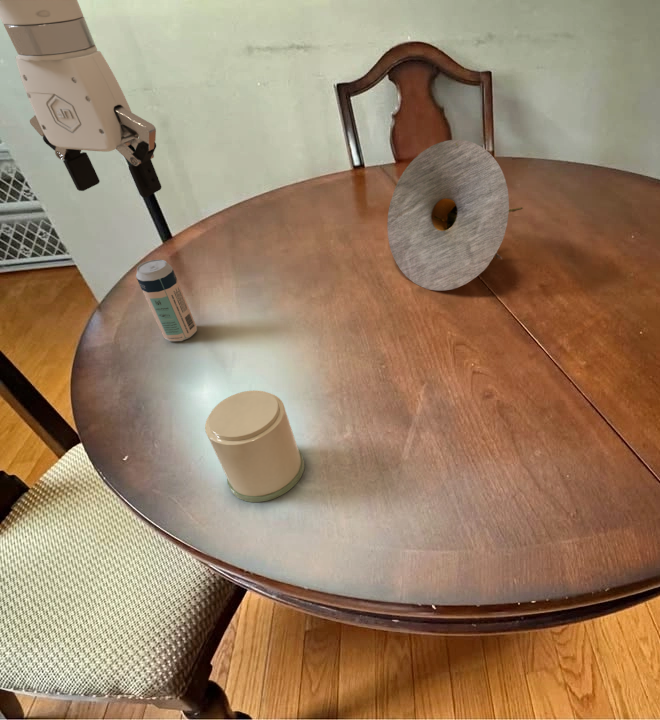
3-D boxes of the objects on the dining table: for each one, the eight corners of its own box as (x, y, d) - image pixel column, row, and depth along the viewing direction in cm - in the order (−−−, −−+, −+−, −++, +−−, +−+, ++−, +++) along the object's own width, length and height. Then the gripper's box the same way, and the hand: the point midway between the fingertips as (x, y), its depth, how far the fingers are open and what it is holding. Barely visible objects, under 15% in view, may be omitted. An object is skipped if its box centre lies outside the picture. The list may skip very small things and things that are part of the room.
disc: (523, 323, 99) (569, 191, 98) (467, 297, 84) (521, 142, 84) (423, 293, 113) (463, 178, 113) (361, 267, 99) (406, 134, 98)
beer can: (192, 322, 89) (164, 254, 81) (202, 335, 86) (174, 266, 78) (160, 334, 86) (129, 265, 79) (170, 347, 83) (138, 278, 76)
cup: (231, 512, 60) (202, 452, 54) (226, 458, 66) (199, 398, 60) (310, 487, 62) (290, 426, 56) (298, 437, 68) (279, 378, 62)
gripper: (-40, 44, 60) (42, 196, 71) (90, 48, 57) (156, 207, 67) (20, 32, 66) (88, 174, 77) (143, 35, 62) (196, 184, 73)
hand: (120, 189), depth 72 cm, fingers open, 9 cm apart
